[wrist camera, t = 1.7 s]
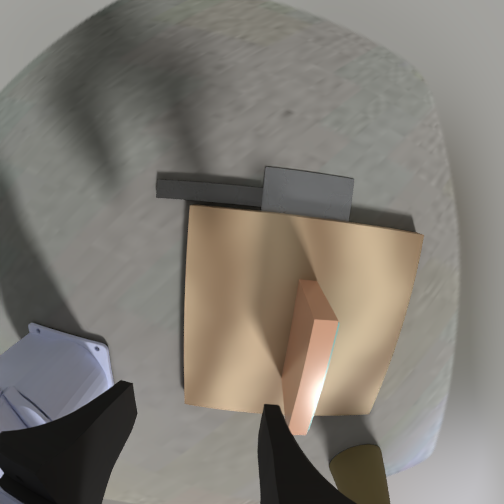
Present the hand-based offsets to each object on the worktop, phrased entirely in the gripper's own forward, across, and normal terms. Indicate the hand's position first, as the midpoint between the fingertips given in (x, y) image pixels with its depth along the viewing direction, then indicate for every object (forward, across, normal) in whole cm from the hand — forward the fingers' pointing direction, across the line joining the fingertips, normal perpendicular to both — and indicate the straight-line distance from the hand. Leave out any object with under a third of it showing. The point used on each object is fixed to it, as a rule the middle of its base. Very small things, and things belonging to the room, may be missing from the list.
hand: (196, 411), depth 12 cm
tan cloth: (+10, -6, 0) cm, 11 cm away
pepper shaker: (+10, -16, +17) cm, 25 cm away
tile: (+9, -6, 0) cm, 10 cm away
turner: (+10, -2, -9) cm, 14 cm away
